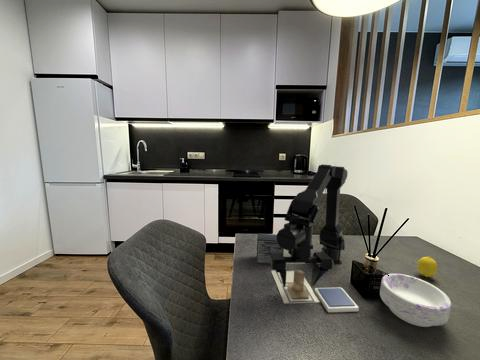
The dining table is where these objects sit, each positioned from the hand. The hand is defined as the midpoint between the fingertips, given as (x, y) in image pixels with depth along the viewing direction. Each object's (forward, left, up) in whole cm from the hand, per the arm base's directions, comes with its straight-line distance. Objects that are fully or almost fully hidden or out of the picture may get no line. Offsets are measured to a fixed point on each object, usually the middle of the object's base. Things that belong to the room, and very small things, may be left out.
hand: (298, 285), depth 68 cm
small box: (+5, -20, -3) cm, 21 cm away
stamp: (0, 0, -3) cm, 3 cm away
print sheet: (0, -4, -3) cm, 5 cm away
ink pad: (-10, +4, -3) cm, 11 cm away
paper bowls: (-29, +10, -3) cm, 31 cm away
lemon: (-51, -7, -3) cm, 52 cm away
